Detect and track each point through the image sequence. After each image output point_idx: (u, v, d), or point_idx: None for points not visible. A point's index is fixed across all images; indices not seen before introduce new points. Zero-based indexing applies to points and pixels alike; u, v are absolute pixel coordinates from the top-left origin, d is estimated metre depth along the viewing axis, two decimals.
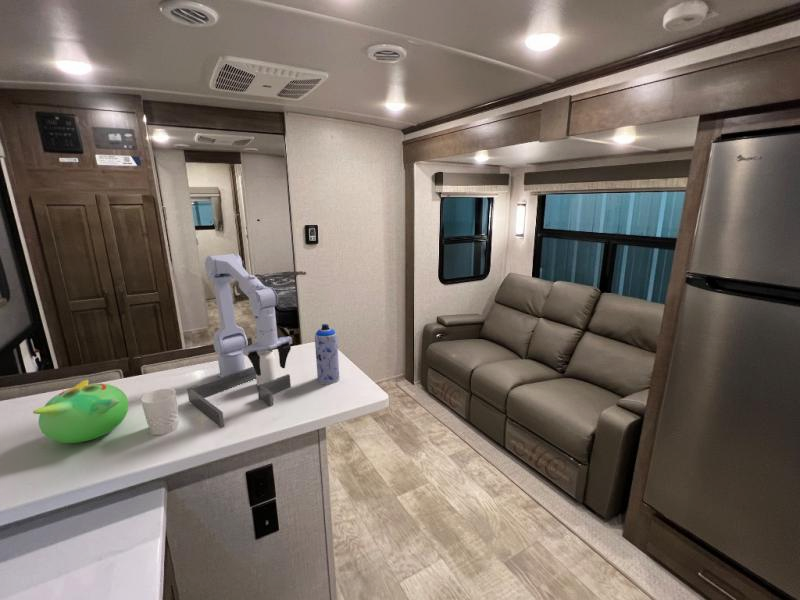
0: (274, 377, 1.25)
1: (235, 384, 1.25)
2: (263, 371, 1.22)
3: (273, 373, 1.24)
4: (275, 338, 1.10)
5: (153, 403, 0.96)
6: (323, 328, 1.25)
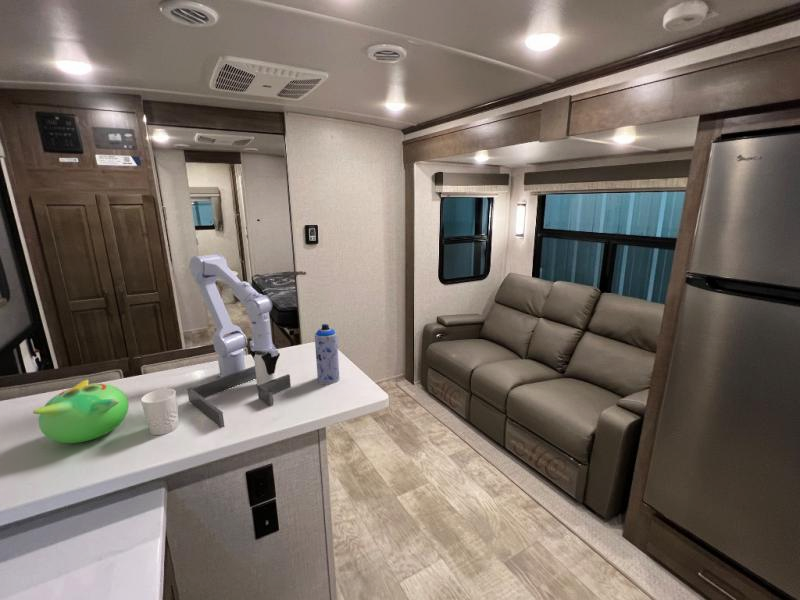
0: (274, 377, 1.25)
1: (235, 384, 1.25)
2: (263, 371, 1.22)
3: (273, 373, 1.24)
4: (258, 343, 1.20)
5: (153, 403, 0.96)
6: (323, 328, 1.25)
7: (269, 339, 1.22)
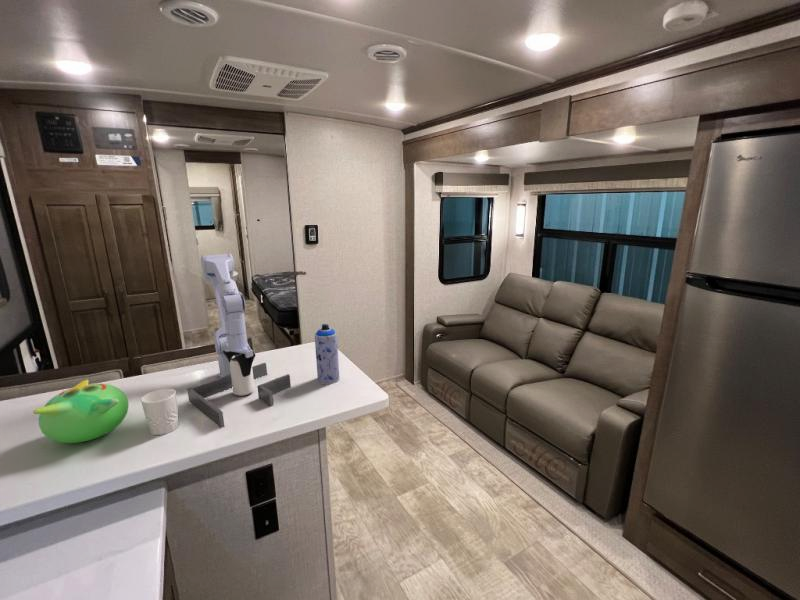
0: (251, 384, 1.19)
1: None
2: (239, 378, 1.16)
3: (250, 379, 1.18)
4: (232, 344, 1.14)
5: (153, 403, 0.96)
6: (323, 328, 1.25)
7: (244, 339, 1.15)
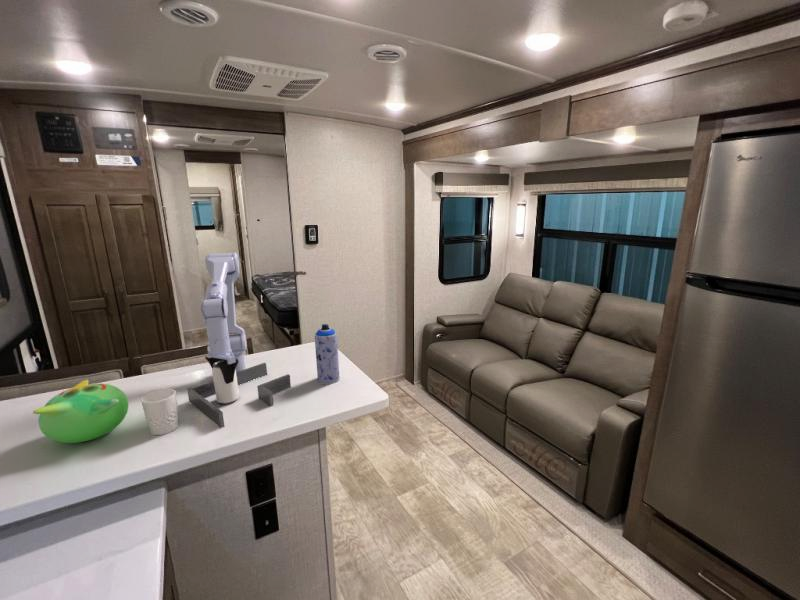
0: (235, 391, 1.15)
1: None
2: (222, 385, 1.12)
3: (234, 387, 1.14)
4: (213, 349, 1.09)
5: (153, 403, 0.96)
6: (323, 328, 1.25)
7: (226, 344, 1.11)
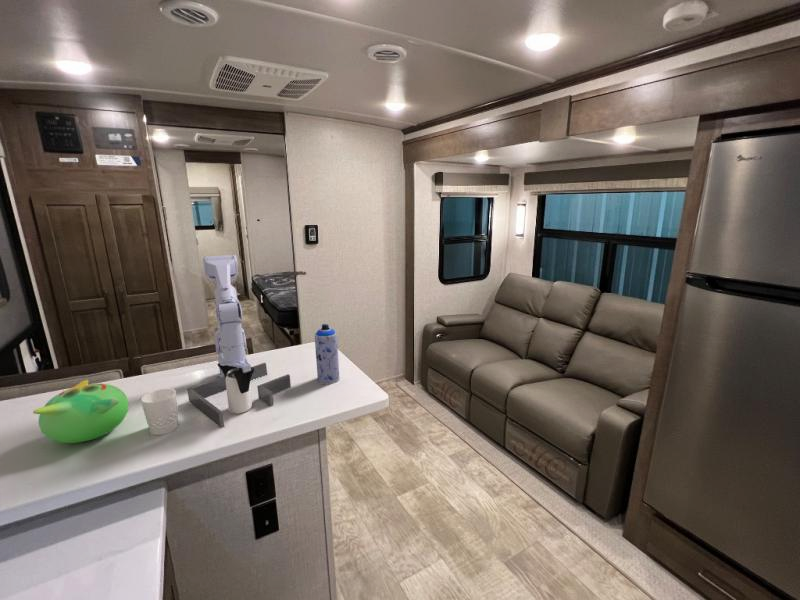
0: (248, 401, 1.09)
1: None
2: (235, 395, 1.06)
3: (247, 397, 1.09)
4: (227, 357, 1.03)
5: (153, 403, 0.96)
6: (323, 328, 1.25)
7: (241, 352, 1.05)
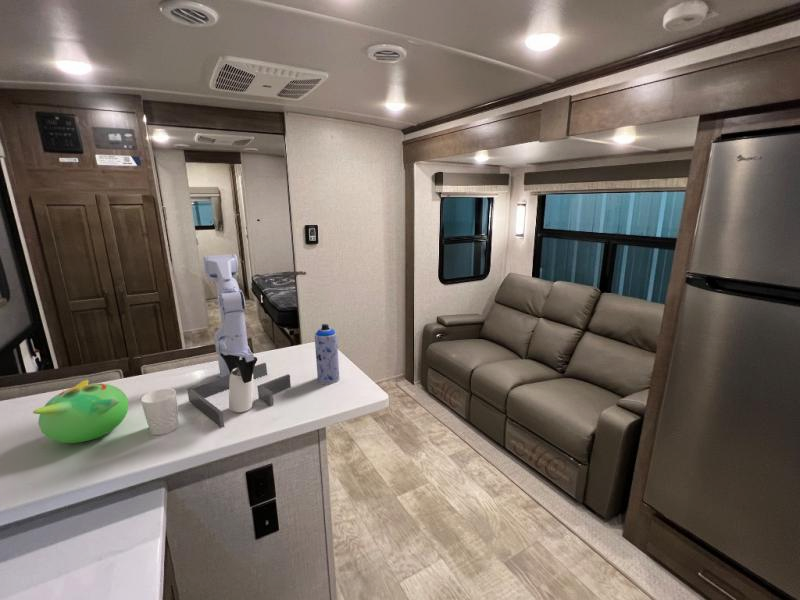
0: (249, 401, 1.10)
1: None
2: (238, 394, 1.07)
3: (249, 396, 1.09)
4: (230, 346, 1.03)
5: (153, 403, 0.96)
6: (323, 328, 1.25)
7: (244, 341, 1.05)
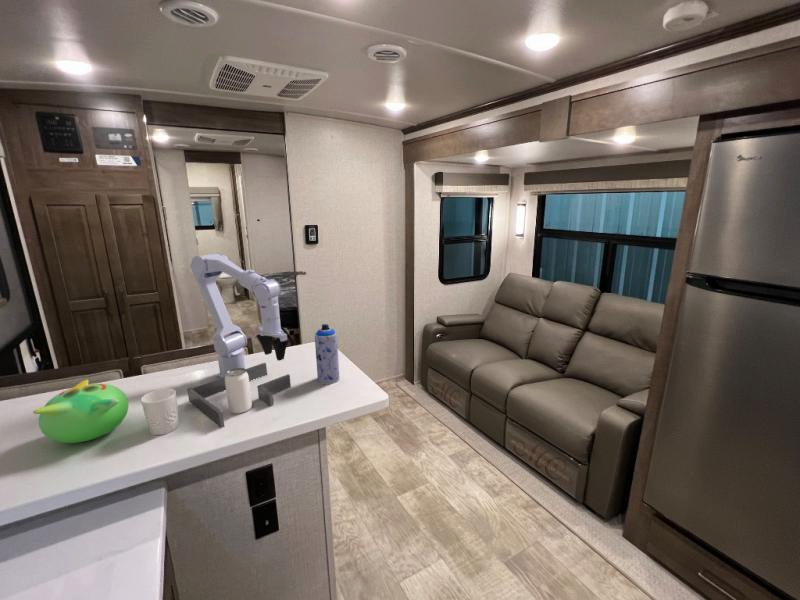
0: (247, 401, 1.10)
1: None
2: (234, 394, 1.07)
3: (247, 396, 1.09)
4: (266, 328, 1.18)
5: (153, 403, 0.96)
6: (323, 328, 1.25)
7: (278, 324, 1.20)
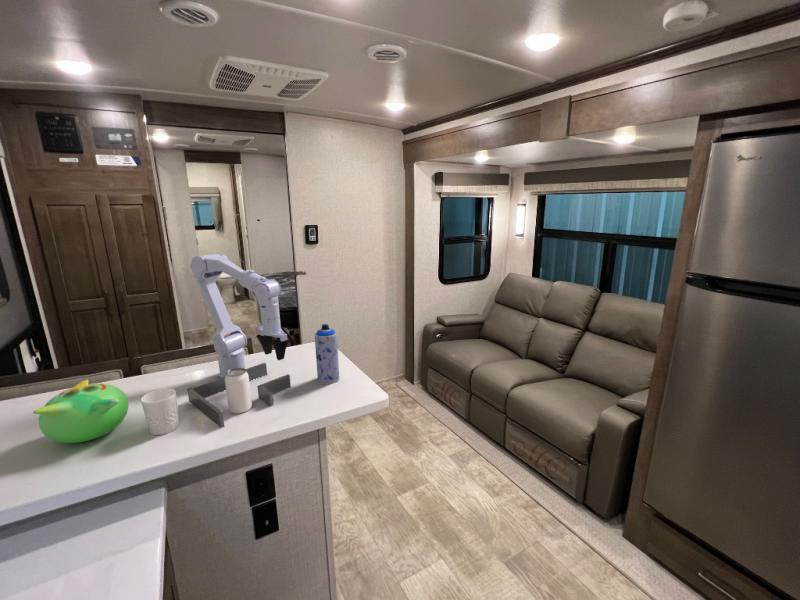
0: (248, 401, 1.10)
1: None
2: (234, 394, 1.07)
3: (247, 396, 1.09)
4: (267, 328, 1.18)
5: (153, 403, 0.96)
6: (323, 328, 1.25)
7: (278, 324, 1.20)
